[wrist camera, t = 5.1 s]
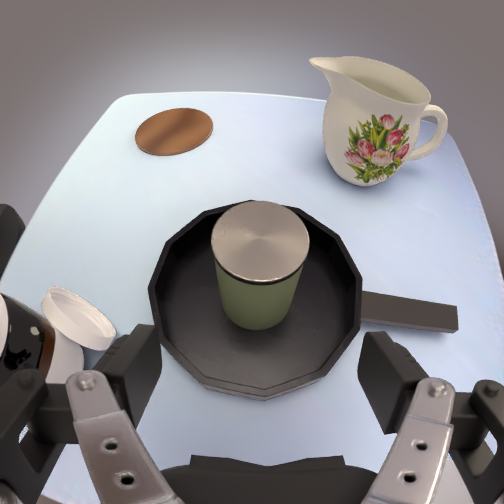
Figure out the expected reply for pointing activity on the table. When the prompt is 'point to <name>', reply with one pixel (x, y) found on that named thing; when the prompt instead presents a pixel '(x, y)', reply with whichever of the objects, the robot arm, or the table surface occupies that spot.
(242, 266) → the tin
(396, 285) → the table surface
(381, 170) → the pitcher
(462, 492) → the milk
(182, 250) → the pan
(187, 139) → the coaster
